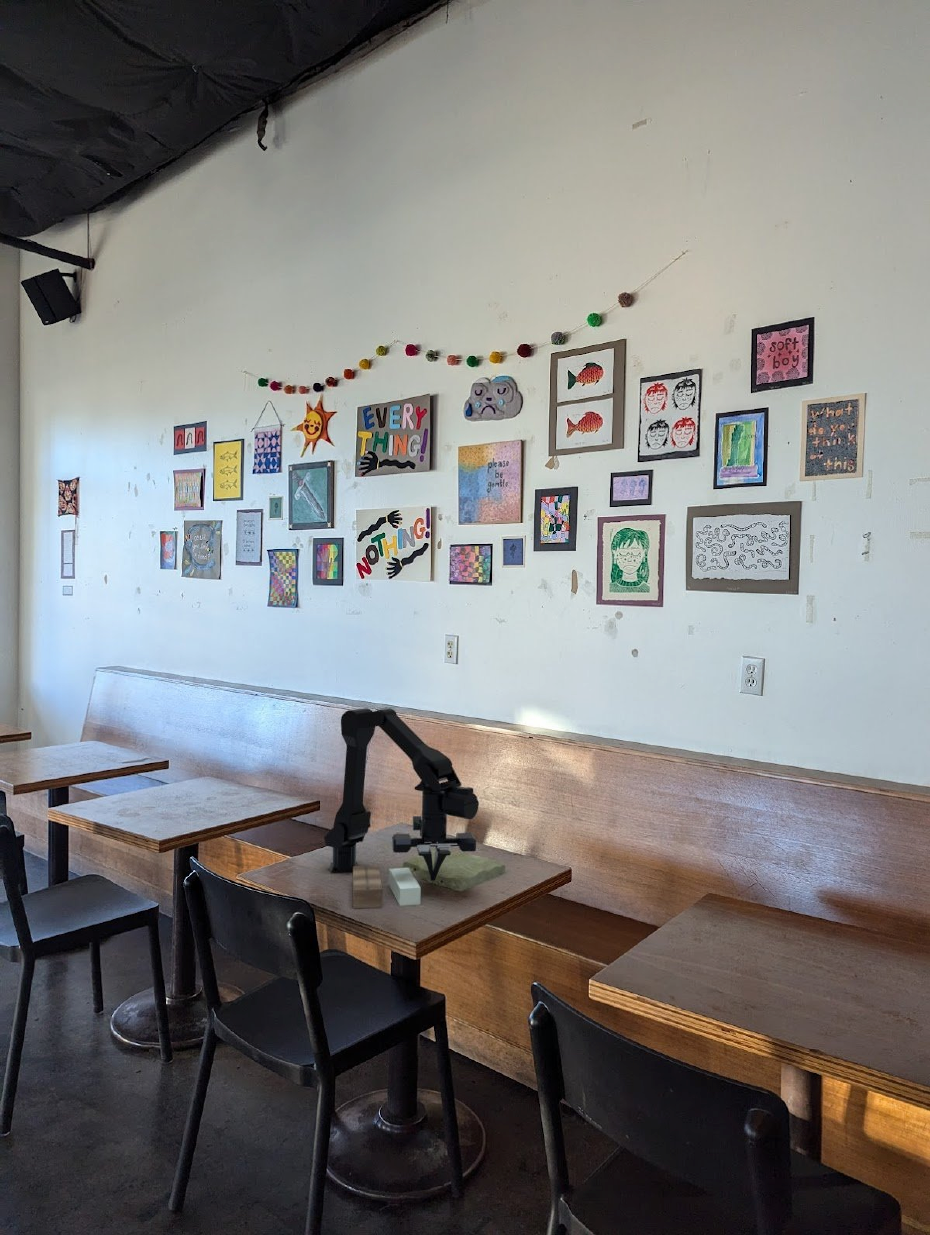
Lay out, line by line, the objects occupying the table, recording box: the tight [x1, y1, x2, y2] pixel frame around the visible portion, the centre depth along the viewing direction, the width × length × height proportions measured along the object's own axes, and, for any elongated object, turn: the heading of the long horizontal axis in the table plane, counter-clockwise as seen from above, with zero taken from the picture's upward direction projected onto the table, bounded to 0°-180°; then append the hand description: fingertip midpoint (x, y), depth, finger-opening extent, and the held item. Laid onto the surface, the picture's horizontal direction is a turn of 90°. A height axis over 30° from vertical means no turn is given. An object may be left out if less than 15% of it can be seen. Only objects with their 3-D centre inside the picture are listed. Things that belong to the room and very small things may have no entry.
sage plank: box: [388, 867, 421, 907], centre depth 194 cm, size 14×4×4 cm, turn 15°
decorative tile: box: [401, 848, 507, 892], centre depth 209 cm, size 19×20×4 cm
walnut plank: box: [352, 865, 383, 909], centre depth 193 cm, size 16×6×4 cm, turn 8°
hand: (432, 880), depth 195 cm, fingers closed
